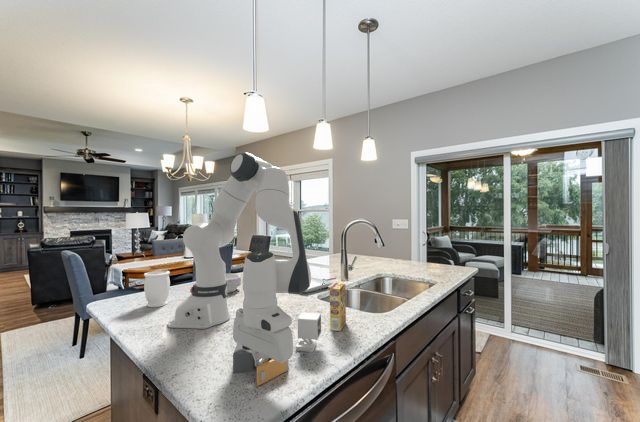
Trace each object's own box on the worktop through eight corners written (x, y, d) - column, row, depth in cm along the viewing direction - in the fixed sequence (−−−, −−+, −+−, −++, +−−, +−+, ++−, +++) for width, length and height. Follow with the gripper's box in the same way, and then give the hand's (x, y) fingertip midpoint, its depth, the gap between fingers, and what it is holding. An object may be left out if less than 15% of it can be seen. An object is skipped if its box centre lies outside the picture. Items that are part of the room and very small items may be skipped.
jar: (138, 306, 131) (138, 273, 131) (159, 300, 141) (158, 269, 141) (155, 309, 127) (155, 275, 127) (175, 302, 137) (175, 271, 137)
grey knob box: (233, 372, 77) (232, 350, 77) (239, 355, 86) (238, 336, 86) (285, 369, 79) (285, 347, 79) (286, 353, 88) (286, 333, 88)
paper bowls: (236, 294, 149) (236, 279, 149) (206, 294, 149) (206, 279, 149) (244, 287, 164) (244, 273, 164) (217, 287, 164) (217, 273, 164)
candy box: (340, 332, 103) (340, 288, 103) (329, 330, 104) (329, 288, 104) (346, 322, 111) (346, 282, 111) (335, 321, 112) (335, 282, 112)
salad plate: (280, 288, 163) (280, 281, 163) (309, 281, 177) (309, 275, 177) (304, 296, 147) (304, 289, 147) (334, 288, 162) (334, 282, 162)
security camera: (317, 353, 87) (317, 320, 87) (295, 351, 89) (294, 318, 89) (321, 343, 94) (321, 312, 94) (300, 341, 95) (300, 311, 95)
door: (259, 387, 71) (259, 368, 71) (256, 384, 72) (256, 366, 72) (290, 371, 78) (290, 353, 78) (286, 368, 79) (286, 352, 79)
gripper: (226, 309, 79) (227, 359, 79) (278, 327, 67) (278, 387, 67) (245, 303, 84) (246, 350, 84) (296, 319, 72) (297, 375, 72)
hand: (261, 367), depth 75 cm, fingers closed
